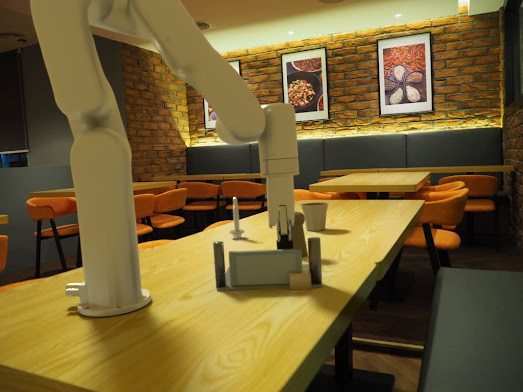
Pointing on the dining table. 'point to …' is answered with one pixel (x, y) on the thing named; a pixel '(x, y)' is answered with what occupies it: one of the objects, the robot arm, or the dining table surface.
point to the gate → (263, 266)
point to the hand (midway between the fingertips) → (285, 259)
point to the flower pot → (315, 215)
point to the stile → (314, 274)
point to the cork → (299, 234)
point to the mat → (260, 286)
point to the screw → (236, 221)
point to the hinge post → (219, 264)
